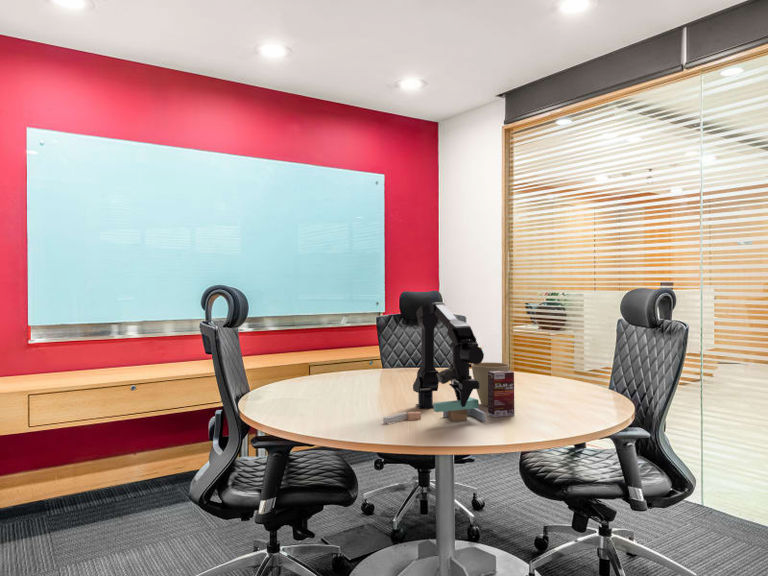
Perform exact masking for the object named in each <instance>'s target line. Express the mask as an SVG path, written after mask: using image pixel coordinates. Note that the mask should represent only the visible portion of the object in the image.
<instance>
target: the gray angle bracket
mask: <svg viewBox="0 0 768 576" xmlns="http://www.w3.org/2000/svg"><path fill="white" fill-rule="evenodd" d="M468 416H470V417H471V416H472V417H474V418H475V417H476V419H477V420H479V421H481V422H482V421H483V422H486V412H484V411H482V410H481V409H479V408H474V409H467V417H468ZM442 417H443V418H449V416H448V411H443V412H442Z"/></svg>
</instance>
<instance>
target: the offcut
mask: <svg viewBox="0 0 768 576" xmlns="http://www.w3.org/2000/svg"><path fill="white" fill-rule="evenodd" d="M406 413H408V419H407V420H408V421H415V419H419V420H422V419H421V418H422V417H421V416H422V412H420V411H410V412H406Z"/></svg>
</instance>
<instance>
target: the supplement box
mask: <svg viewBox="0 0 768 576" xmlns="http://www.w3.org/2000/svg"><path fill="white" fill-rule="evenodd" d="M487 414H488V415H489V416H490V417H492V418H499V417H510V416H511V417H512V416H515V371H511V370H509V371H508V370H507V371H491V372H488V406H487Z"/></svg>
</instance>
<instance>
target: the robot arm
mask: <svg viewBox="0 0 768 576" xmlns="http://www.w3.org/2000/svg"><path fill="white" fill-rule="evenodd" d="M416 318H417V323H418V325H419V326H420V329H421V351H420V352H421V361H420V362H421V364H420V367H419V368H418V370H417V372H416V378H415V380H414V382H413V385H412V389H413V390H412V391H413V392H415V393H418V395H417V397H418V398H417V399H418V403H416V404H415V406H416V407H417V408H419V409H432V408H433V409H434V407H433V403H434V395H433V393H434V392H437V391H438V389H439V385H440V383H441V385H444V384H447V383H448V384H449V386H450V387H451V388H452V389H453V390H454V393H455V396H456V397H455V398H456V401H457V400H461V406H462V407H465V405H466V403H467V401H468V399H469V397H471V394H472V392H473V390H476V389H480V383H479V382H478V381H477V380H475V379H474V378H472V376H473V375H470V368H472V365H471V364H479V363H483V360H484V358H485V356H484V355H485V353H484V352H483V350H482V348H481V347H479V343H478V341H477V337H476V336H475V334H474V332H473V328H472V327H471V326H470V325H469V324H468V323H466V322H465V321H462V320H460V319H458V318H457V317H456V316H455V315H454V314H453V313H452V312H451V311H450V310H449V308H448V307H447V306H446V304H445V302H442V301H440V302H439V301H437V302H436V301H433V302H431V303H429V304H426V305H423V306H419V308H418V309H417V310H416ZM439 321H440V322H441V323H442V324H443V326H444V327H445V328H446V329H447V333H446V334H447V336H448V338H449V339H450V340H451V343H450V345H449V347H451V349H452V362H450V364H449V368H445V369H444V370H441V371H439V370H437V369H436V367H435V360H434V359H435V329H436V327H437V326H438V324H439ZM449 382H450V383H449Z"/></svg>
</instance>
